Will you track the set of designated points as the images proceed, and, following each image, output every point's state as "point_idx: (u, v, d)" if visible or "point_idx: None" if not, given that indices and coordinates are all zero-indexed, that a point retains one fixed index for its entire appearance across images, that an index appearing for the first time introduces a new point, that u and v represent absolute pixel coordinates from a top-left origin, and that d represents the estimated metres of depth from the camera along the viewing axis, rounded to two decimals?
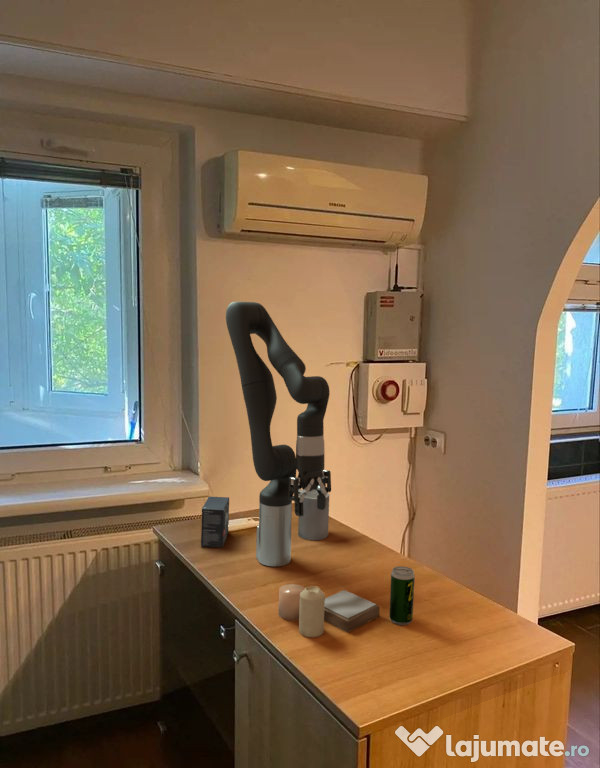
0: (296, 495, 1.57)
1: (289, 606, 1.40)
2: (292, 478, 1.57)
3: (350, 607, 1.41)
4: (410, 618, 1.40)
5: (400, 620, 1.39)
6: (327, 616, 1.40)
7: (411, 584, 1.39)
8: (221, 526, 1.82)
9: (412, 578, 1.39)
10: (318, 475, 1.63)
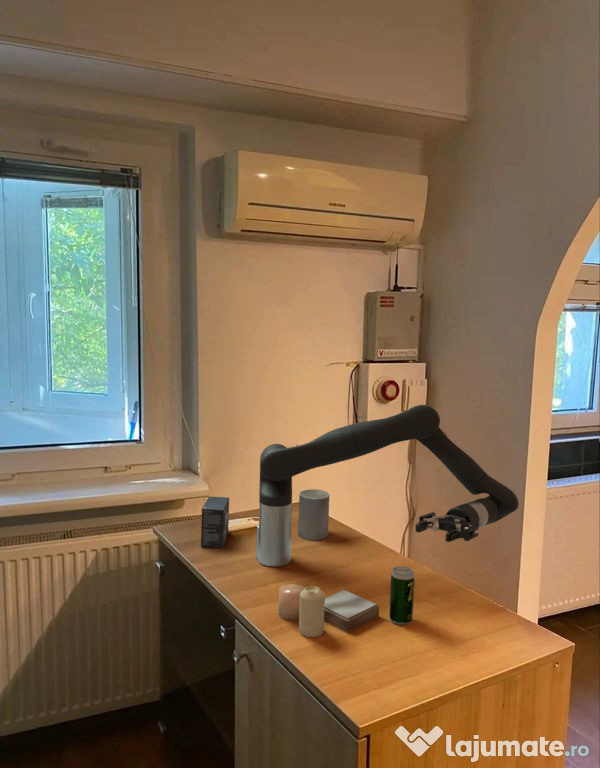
0: None
1: (289, 606, 1.40)
2: None
3: (350, 607, 1.41)
4: (410, 618, 1.40)
5: (400, 620, 1.39)
6: (327, 616, 1.40)
7: (411, 584, 1.39)
8: (221, 526, 1.82)
9: (412, 578, 1.39)
10: None
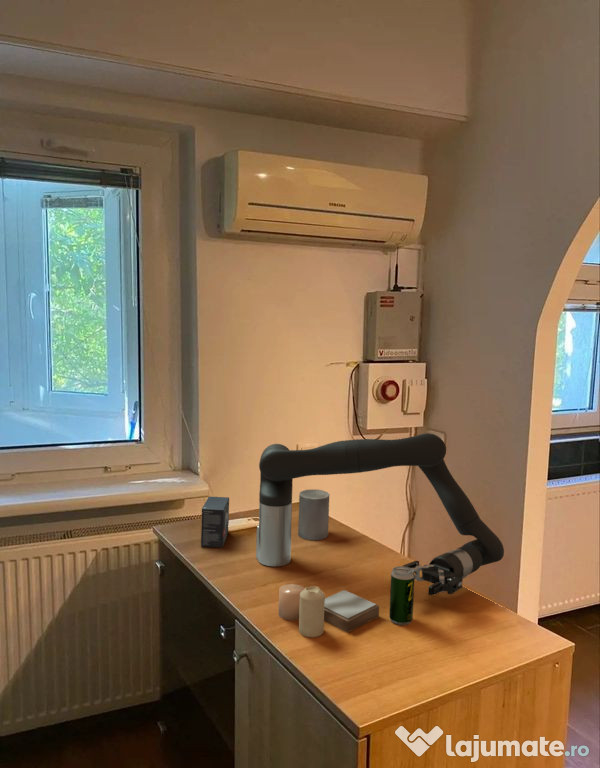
0: None
1: (289, 606, 1.40)
2: None
3: (350, 607, 1.41)
4: (410, 618, 1.40)
5: (400, 620, 1.39)
6: (327, 616, 1.40)
7: (411, 584, 1.39)
8: (221, 526, 1.82)
9: (412, 578, 1.39)
10: None
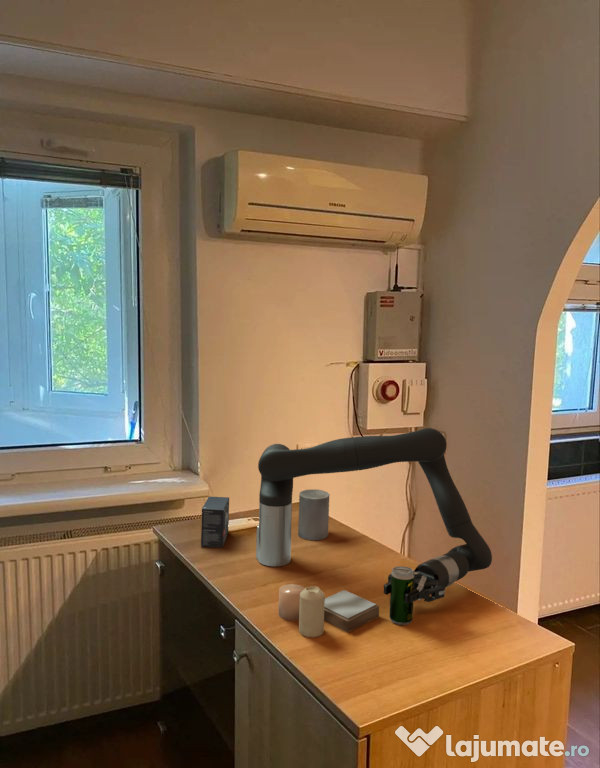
0: None
1: (289, 606, 1.40)
2: (444, 590, 1.42)
3: (350, 607, 1.41)
4: (410, 618, 1.40)
5: (400, 620, 1.39)
6: (327, 616, 1.40)
7: (411, 584, 1.39)
8: (221, 526, 1.82)
9: (412, 578, 1.39)
10: None
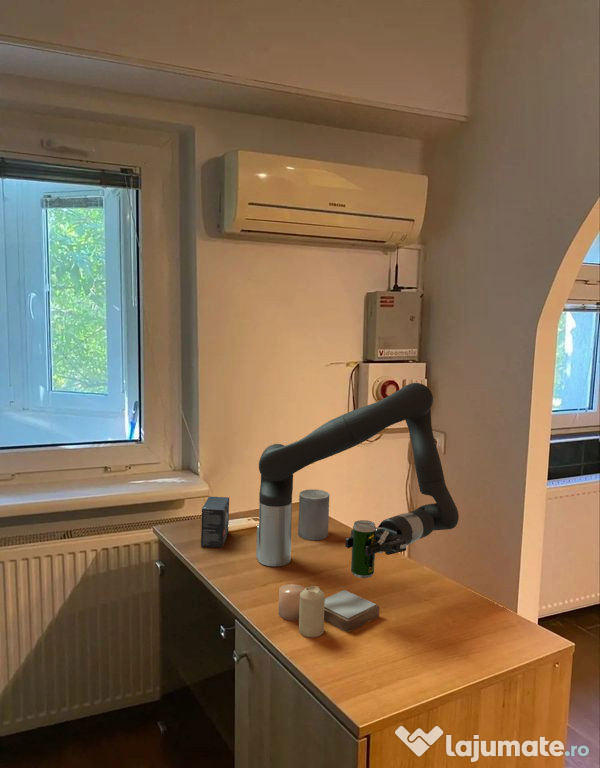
0: None
1: (289, 606, 1.40)
2: (406, 544, 1.42)
3: (350, 607, 1.41)
4: (371, 571, 1.40)
5: (361, 573, 1.39)
6: (327, 616, 1.40)
7: (372, 537, 1.39)
8: (221, 526, 1.82)
9: (374, 531, 1.39)
10: None
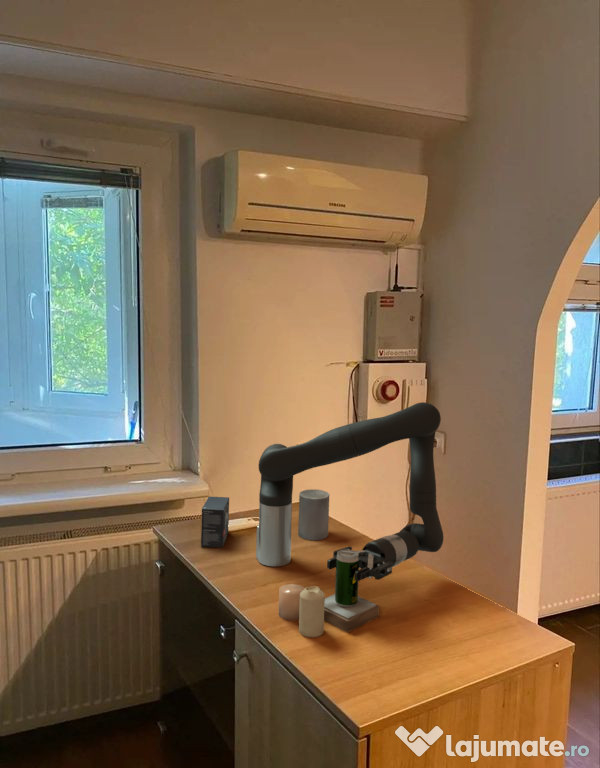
0: None
1: (289, 606, 1.40)
2: (391, 567, 1.43)
3: None
4: (355, 601, 1.41)
5: (344, 602, 1.41)
6: (327, 616, 1.40)
7: (355, 567, 1.40)
8: (221, 526, 1.82)
9: (356, 561, 1.40)
10: None
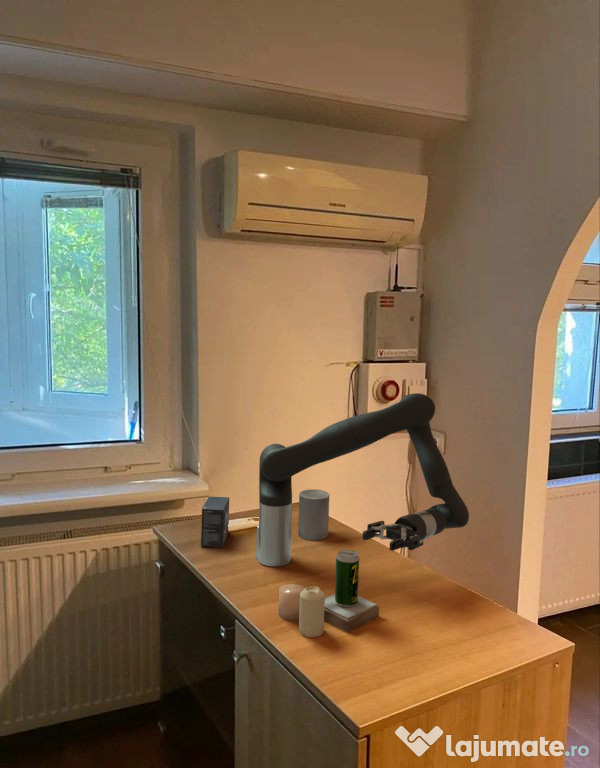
0: None
1: (289, 606, 1.40)
2: None
3: None
4: (355, 601, 1.41)
5: (344, 603, 1.41)
6: (327, 616, 1.40)
7: (355, 567, 1.40)
8: (221, 526, 1.82)
9: (356, 561, 1.40)
10: None
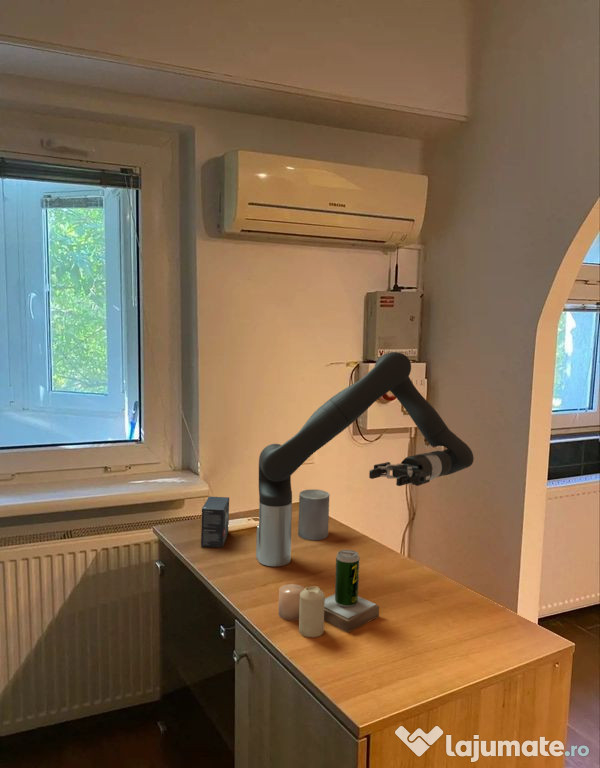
0: None
1: (289, 606, 1.40)
2: None
3: None
4: (355, 601, 1.41)
5: (344, 603, 1.41)
6: (327, 616, 1.40)
7: (355, 567, 1.40)
8: (221, 526, 1.82)
9: (357, 561, 1.40)
10: None
